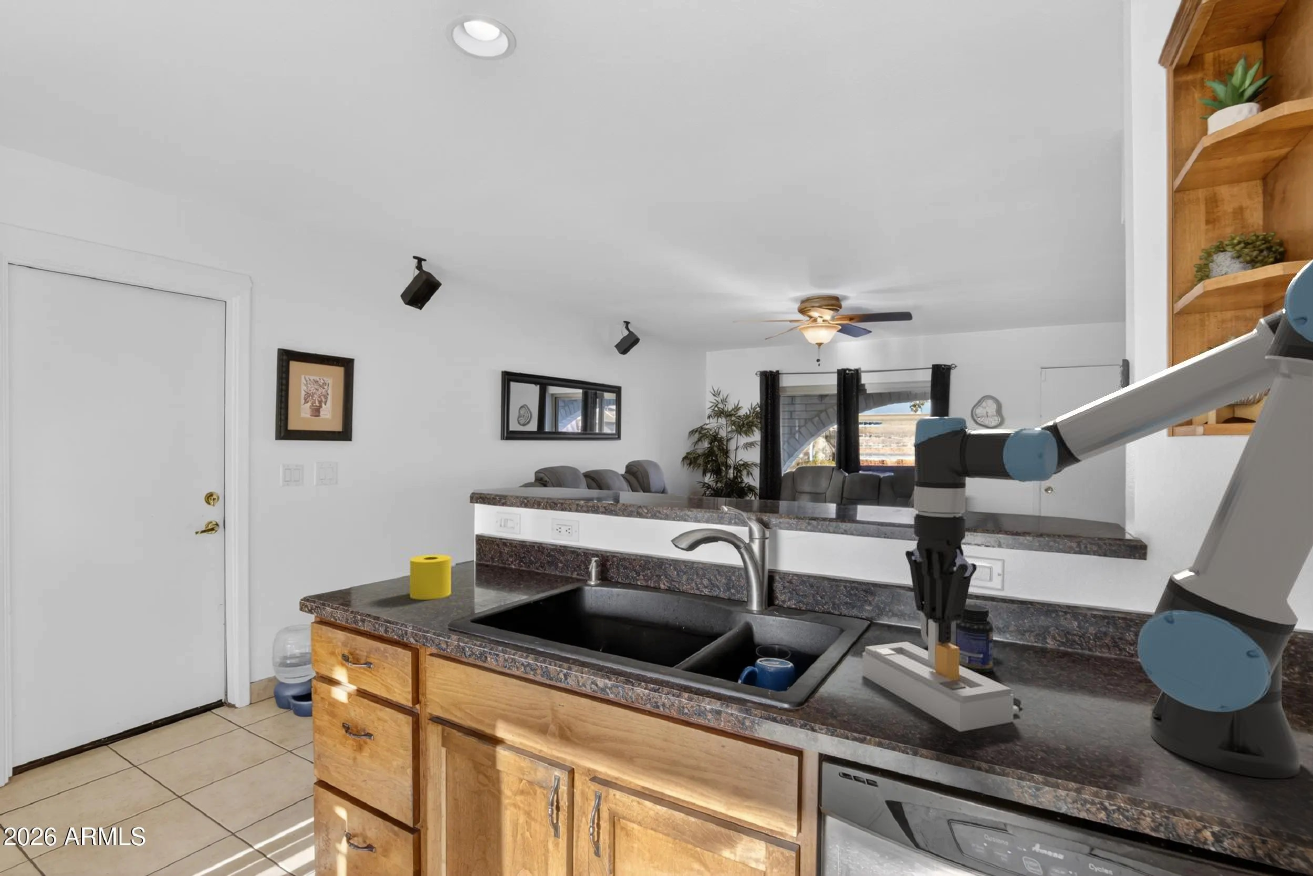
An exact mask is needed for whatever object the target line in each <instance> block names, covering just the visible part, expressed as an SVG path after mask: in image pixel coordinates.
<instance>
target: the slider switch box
mask: <svg viewBox="0 0 1313 876" xmlns="http://www.w3.org/2000/svg"><path fill="white" fill-rule="evenodd" d="M862 676H863V677H865V678H866V679H868V680H870V681H871V682H874V684H877V685H878V686H879V687H882V688H883V689H886V690H887V691H888V692H891V693H892V694H893V695H896V696H897V697H899V698H901V699H903V700H904V701H906V702H908V703H910V704H911V705H913V706H915V707H916V708H918V709H920V710H922V711H923V712H925V713H927V714H928V715H930V716H931V717H934V718H935V719H937V720H939V721H940V722H942V723H944V724H946V725H947V726H949V727H950V728H952V729H954V730H956V731H957V732H967V731H971V730H975V729H982V728H987V727H992V726H999V725H1004V724H1008V723H1013V722H1014V715H1013V697H1014V694H1012V688H1011V687H1008V686H1006V685H1003V684H1002V683H999V682H997V681H995V680H993V679H991V678H988V677H986V676H984V675H981V673H980V674H979V673H978V672H973V671H971V670H969V669H966V668H964V667H962V666H960V665H959V680H953V681H952V680H950V679H948V678H946V677H944V676H942V675H940V674H938V673H936V672H935V663H934V662H931V661H929V660H928V650H926V649H924V648H922V647H919V646H917V645H915V644H912V643H911V642H908V641H902V642H894V643H893V642H892V643H885V644H876V645H870V646H865V647H864V652H862Z"/></svg>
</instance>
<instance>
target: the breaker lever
mask: <svg viewBox="0 0 1313 876" xmlns="http://www.w3.org/2000/svg"><path fill="white" fill-rule="evenodd" d="M935 672H936V673H938V674H940V675H942V676H944V677H946V678H948V679H950V680H952V681H953V680H959V647H957V646H954V645H952V644H949V643H942V644H936V649H935Z"/></svg>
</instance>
